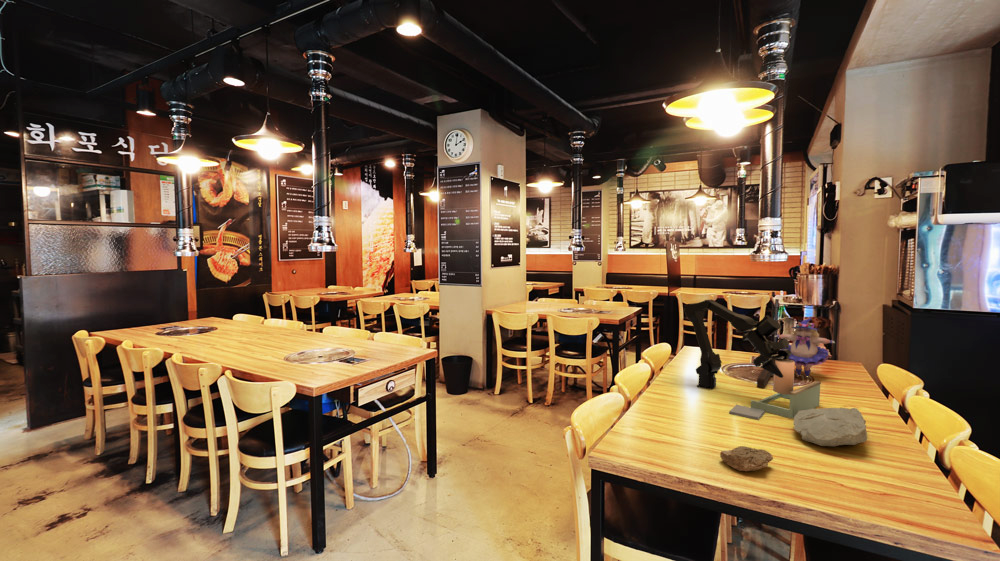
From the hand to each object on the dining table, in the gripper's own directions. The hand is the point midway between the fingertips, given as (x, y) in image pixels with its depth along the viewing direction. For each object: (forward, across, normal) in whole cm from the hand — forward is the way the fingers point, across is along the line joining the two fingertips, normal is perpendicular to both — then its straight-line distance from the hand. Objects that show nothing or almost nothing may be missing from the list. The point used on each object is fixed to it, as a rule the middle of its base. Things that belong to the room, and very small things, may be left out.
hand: (787, 376), depth 180 cm
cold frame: (+8, +3, +11) cm, 14 cm away
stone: (+25, -15, -5) cm, 29 cm away
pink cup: (+4, 0, +6) cm, 7 cm away
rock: (+24, -61, -5) cm, 65 cm away
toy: (-6, +57, +25) cm, 62 cm away
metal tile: (+6, -17, +13) cm, 23 cm away
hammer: (-9, +33, +29) cm, 45 cm away
